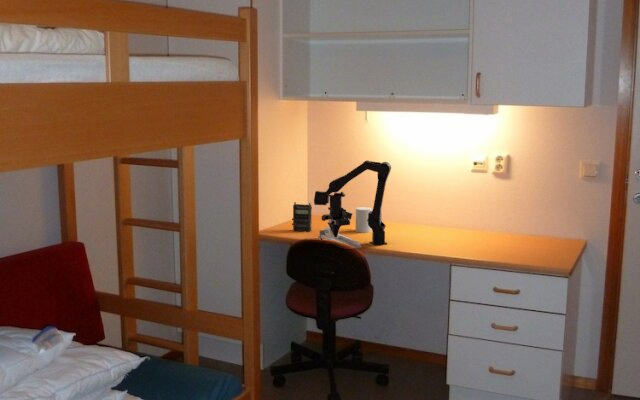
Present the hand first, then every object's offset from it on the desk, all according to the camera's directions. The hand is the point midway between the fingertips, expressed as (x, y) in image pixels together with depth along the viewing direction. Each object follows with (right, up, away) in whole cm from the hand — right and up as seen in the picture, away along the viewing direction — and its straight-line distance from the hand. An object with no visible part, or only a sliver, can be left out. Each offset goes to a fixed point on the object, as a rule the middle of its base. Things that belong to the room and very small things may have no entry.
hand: (335, 237), depth 351 cm
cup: (+15, +2, +25) cm, 29 cm away
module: (-2, 0, +4) cm, 5 cm away
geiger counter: (-17, +2, +24) cm, 30 cm away
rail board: (+2, -3, -3) cm, 5 cm away
